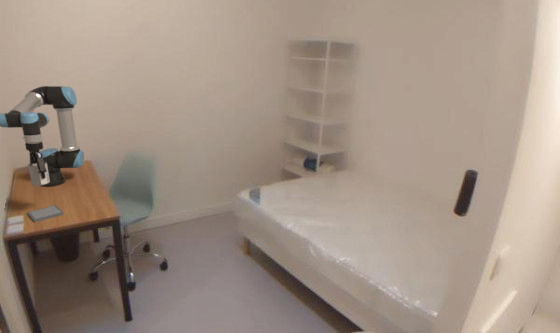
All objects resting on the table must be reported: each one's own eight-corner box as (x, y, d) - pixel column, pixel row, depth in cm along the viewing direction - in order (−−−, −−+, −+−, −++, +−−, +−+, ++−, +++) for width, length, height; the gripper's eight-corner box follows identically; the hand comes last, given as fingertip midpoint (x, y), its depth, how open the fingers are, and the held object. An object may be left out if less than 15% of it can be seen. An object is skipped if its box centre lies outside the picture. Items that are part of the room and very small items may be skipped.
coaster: (27, 214, 192) (27, 212, 191) (55, 206, 202) (55, 204, 202) (34, 222, 184) (34, 220, 183) (63, 214, 194) (63, 212, 194)
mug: (29, 182, 190) (26, 163, 187) (47, 179, 196) (44, 160, 193) (35, 188, 182) (31, 168, 179) (53, 185, 188) (50, 165, 185)
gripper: (18, 139, 187) (25, 176, 193) (32, 147, 172) (39, 188, 178) (35, 137, 192) (41, 173, 199) (49, 145, 177) (55, 184, 184)
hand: (40, 180), depth 188 cm, fingers closed on mug, 12 cm apart
